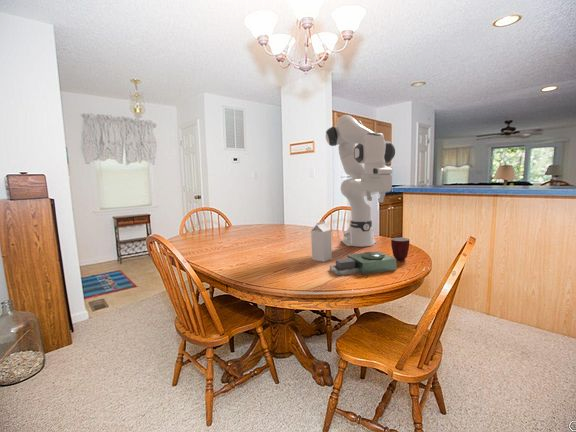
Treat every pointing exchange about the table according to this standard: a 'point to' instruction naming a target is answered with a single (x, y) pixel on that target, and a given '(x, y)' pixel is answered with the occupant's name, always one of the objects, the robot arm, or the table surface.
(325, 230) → the milk carton
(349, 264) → the grey rectangular block
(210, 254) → the table surface
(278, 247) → the table surface
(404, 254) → the mug
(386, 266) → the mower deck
